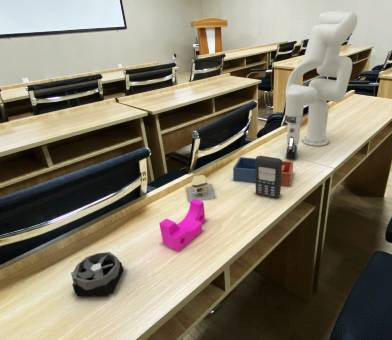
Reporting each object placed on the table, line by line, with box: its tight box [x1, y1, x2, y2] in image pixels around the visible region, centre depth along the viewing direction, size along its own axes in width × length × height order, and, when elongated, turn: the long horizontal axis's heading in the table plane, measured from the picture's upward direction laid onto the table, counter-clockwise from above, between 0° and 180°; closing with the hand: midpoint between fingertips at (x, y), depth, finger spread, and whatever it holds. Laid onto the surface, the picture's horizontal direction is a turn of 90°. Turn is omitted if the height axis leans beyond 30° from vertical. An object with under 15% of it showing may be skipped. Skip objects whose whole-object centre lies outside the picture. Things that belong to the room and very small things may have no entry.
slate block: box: [285, 145, 298, 160], centre depth 142 cm, size 4×4×4 cm
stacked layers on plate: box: [186, 174, 215, 203], centre depth 115 cm, size 10×9×6 cm
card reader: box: [254, 155, 283, 199], centre depth 110 cm, size 9×4×15 cm, turn 68°
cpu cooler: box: [70, 251, 124, 298], centre depth 77 cm, size 10×6×10 cm
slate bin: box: [232, 156, 256, 184], centre depth 126 cm, size 11×11×6 cm
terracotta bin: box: [281, 160, 294, 187], centre depth 123 cm, size 11×11×6 cm
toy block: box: [158, 199, 206, 252], centre depth 93 cm, size 15×6×8 cm, turn 147°
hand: (291, 155), depth 142 cm, fingers open, 6 cm apart
